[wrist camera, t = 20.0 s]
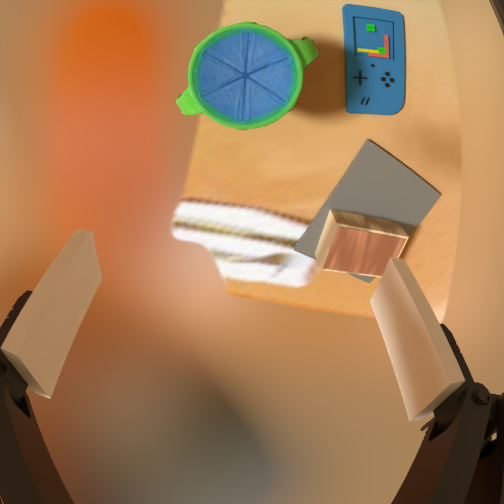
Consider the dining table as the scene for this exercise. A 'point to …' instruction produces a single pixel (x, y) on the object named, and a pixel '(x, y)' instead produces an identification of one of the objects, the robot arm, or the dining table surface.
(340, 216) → the birch board
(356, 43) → the handheld gaming device
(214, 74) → the snack cup
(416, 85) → the dining table surface
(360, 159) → the mat
